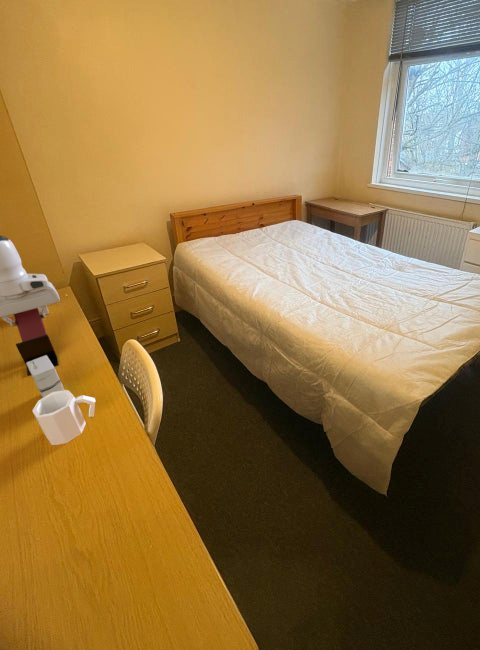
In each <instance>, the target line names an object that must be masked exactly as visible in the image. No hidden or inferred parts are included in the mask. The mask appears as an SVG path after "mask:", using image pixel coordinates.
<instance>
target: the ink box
mask: <svg viewBox="0 0 480 650" xmlns="http://www.w3.org/2000/svg"><path fill="white" fill-rule="evenodd" d="M26 364H27V366H28V368H29V371H30V373H31V375H30V376H31V377H32V379H33V381H34V383H35V386H36V387H37V389H38V391H39V394H40V395H41V396H42V398H44V397H45V396H47V395H49V394H50V393H52V392H56V391H64V390H65V388H64V385H63V383H62V381H61V379H60V377H59V375H58V372H57V370H56V367H54V366H53V364H52V363H51V361H50V360H49V358H48V357H47V355H45V356H42V357H40V358H37V359H34V360H32V361H29V362H27V363H26ZM26 364H25V365H26ZM27 366H26V367H27Z"/></svg>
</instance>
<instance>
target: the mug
mask: <svg viewBox="0 0 480 650" xmlns="http://www.w3.org/2000/svg"><path fill="white" fill-rule="evenodd" d="M81 403H84V404H86V405H89V408H88V417H89V418H94V417H95V411H96V397H92V396H89V395H83V394H82V395H79V396H77V397H75V395H74V394H73V393H72V392H71V391H70V390H69V389H64V391H56V392H52V393H50V394H49V395H47V396H45V397H44V398H43V397H42V398H40V399H39V400H37V402H36V404H35V406H34V407H33V408H32V410H31V411H32V413H33V415H34V417H35V419H36V421H37V423H38V425H39V426H40V428H41V430H42V432H43V434H44V436H45V438H46V439H47V441H48V442H49V444H51V446H58V445H64V444H65V445H66V444H68V443H70V441H72V440H74V439H75V438H77V437H79V436H80V435H82V433H83V431H84V429H85V427H86V425H87V423H86V419H85V418H84V415H83V412H82V410H81V409H80V407H79V404H81Z"/></svg>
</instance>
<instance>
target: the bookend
mask: <svg viewBox="0 0 480 650" xmlns="http://www.w3.org/2000/svg"><path fill="white" fill-rule="evenodd" d="M15 347H16V348H17V351H18V352H19V355H20V357H21V359H22V361H23V363H24V364H25V366H26V375H27V377H29V376H32V375H31V373H30V371H29V368H28V366H27V364H26V363H27V362H29V361H32V360H34V359H37V358H40V357H42V356H45V355H47V357H48V358H49V360H50V361H51V363H52V364H53V366H54V368H56V367H58V366H60V363H59V360H58V356H57V353H56V350H55V348H54V345H53V344H52V342H51V339H50V337H49V335H48V334H47V335H44V336H41V337H37V338H34V339H31V340H27V341H24V342H22V341H20V342H18V343H15Z"/></svg>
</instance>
